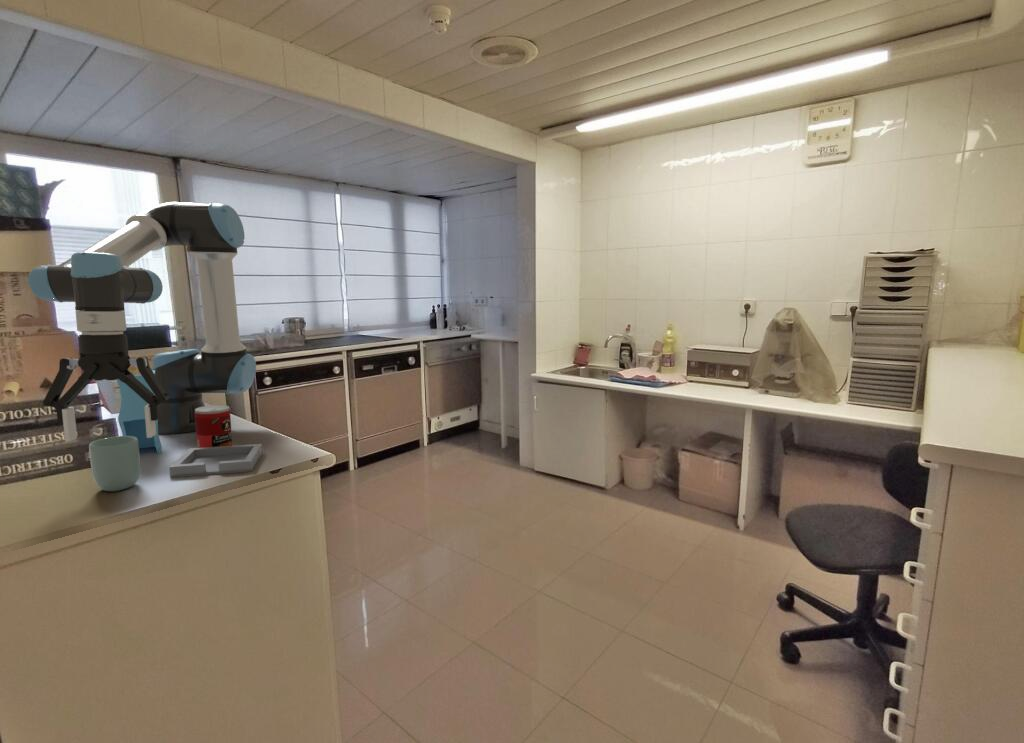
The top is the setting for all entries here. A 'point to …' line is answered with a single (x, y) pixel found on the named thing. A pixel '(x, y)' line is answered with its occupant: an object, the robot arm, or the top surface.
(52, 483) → the top surface
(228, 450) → the grey square tray
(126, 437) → the cup
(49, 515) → the top surface
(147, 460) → the top surface
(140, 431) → the blue wavy stand
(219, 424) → the canned food
